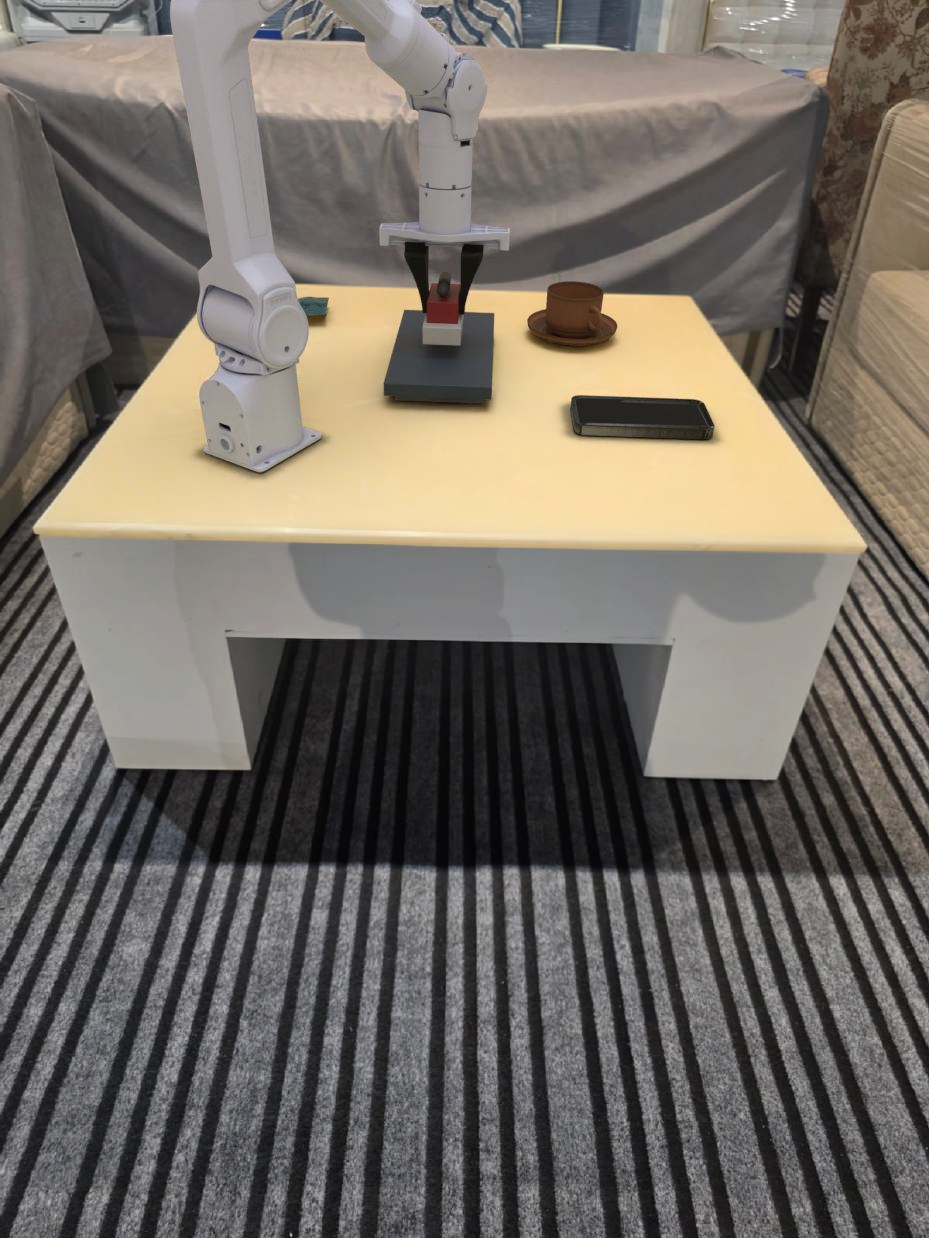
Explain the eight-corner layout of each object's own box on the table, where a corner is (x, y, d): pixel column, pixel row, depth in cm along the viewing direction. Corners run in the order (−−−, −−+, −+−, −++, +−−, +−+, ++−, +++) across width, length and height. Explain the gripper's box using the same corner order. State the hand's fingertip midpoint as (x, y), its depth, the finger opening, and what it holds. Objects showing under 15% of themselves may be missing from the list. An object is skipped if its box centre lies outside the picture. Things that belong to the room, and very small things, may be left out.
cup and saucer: (632, 337, 113) (639, 290, 109) (581, 361, 106) (587, 312, 102) (561, 315, 119) (565, 270, 115) (508, 336, 112) (510, 289, 108)
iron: (460, 346, 97) (461, 291, 93) (422, 344, 97) (422, 289, 93) (463, 319, 104) (464, 267, 100) (428, 317, 104) (428, 265, 100)
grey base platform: (490, 412, 94) (492, 387, 92) (384, 408, 94) (383, 383, 92) (493, 335, 112) (494, 312, 111) (404, 332, 113) (404, 309, 111)
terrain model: (232, 327, 112) (230, 312, 111) (238, 310, 118) (236, 296, 117) (329, 325, 113) (328, 311, 112) (329, 309, 120) (328, 295, 118)
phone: (716, 430, 89) (575, 425, 89) (714, 440, 90) (574, 434, 90) (702, 399, 95) (570, 394, 95) (700, 408, 96) (569, 403, 96)
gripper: (512, 178, 93) (505, 302, 102) (382, 174, 93) (386, 297, 102) (512, 193, 88) (505, 322, 96) (374, 188, 88) (380, 317, 97)
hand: (444, 311), depth 99 cm, fingers closed on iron, 3 cm apart
